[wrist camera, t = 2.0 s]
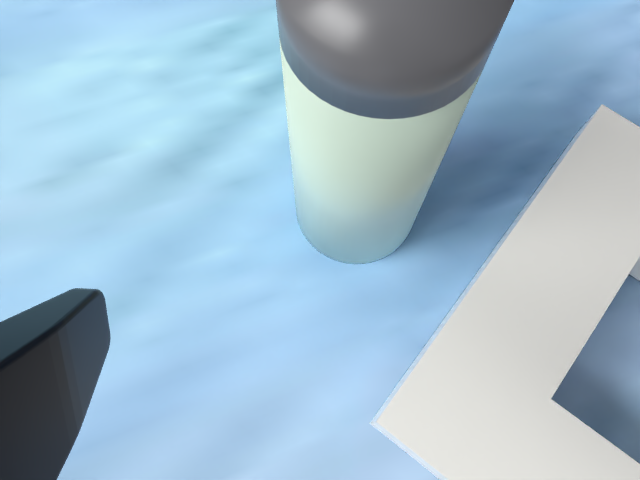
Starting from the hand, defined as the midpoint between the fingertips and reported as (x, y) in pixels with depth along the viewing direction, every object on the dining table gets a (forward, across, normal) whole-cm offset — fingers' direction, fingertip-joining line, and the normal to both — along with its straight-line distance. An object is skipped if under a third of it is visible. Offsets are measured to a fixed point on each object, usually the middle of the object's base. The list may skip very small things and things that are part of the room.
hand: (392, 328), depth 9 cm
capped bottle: (+14, 0, +4) cm, 15 cm away
